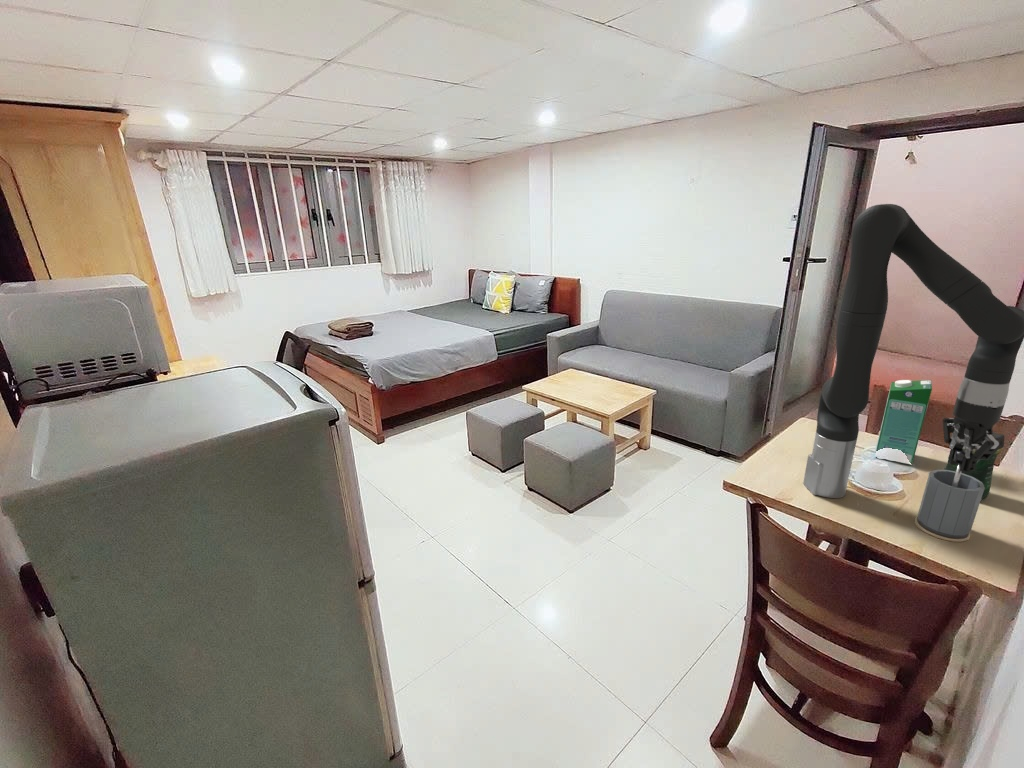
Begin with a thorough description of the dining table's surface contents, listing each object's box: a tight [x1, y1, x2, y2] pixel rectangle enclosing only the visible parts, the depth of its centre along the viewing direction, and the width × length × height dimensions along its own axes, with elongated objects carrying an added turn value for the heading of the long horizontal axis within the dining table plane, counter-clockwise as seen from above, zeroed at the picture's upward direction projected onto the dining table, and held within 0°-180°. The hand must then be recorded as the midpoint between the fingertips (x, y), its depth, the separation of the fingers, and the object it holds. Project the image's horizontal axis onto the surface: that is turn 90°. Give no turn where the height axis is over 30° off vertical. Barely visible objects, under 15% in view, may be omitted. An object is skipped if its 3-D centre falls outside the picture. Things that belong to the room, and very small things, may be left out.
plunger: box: [952, 449, 973, 487], centre depth 109 cm, size 7×7×19 cm
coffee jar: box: [943, 431, 1005, 500], centre depth 124 cm, size 10×8×19 cm
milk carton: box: [875, 379, 933, 465], centre depth 142 cm, size 9×9×25 cm
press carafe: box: [914, 469, 985, 543], centre depth 111 cm, size 10×10×14 cm
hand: (960, 467), depth 107 cm, fingers closed on plunger, 3 cm apart
